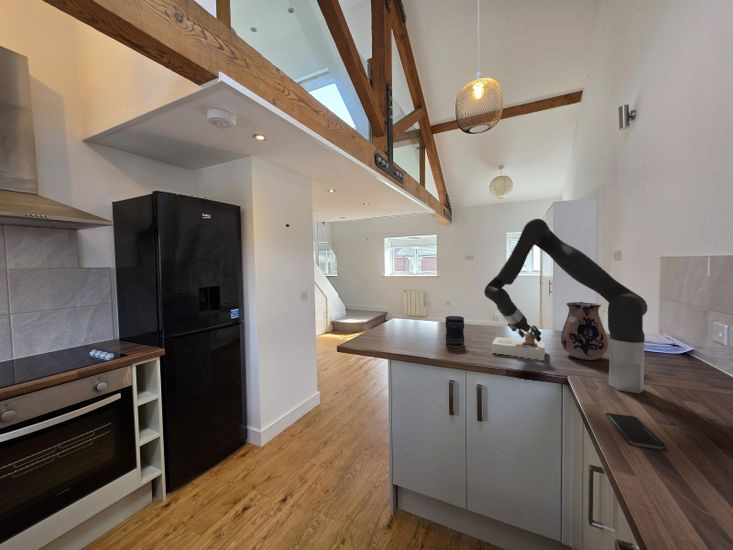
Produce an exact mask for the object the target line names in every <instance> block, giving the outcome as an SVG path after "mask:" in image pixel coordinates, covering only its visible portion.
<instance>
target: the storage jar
mask: <svg viewBox="0 0 733 550" xmlns="http://www.w3.org/2000/svg"><path fill="white" fill-rule="evenodd" d="M464 328H465V317H463V316H459V315H449V316H448V315H447V316H445V345H446V344H447V345H450V346H462V345H464V346H465V335H464ZM447 345H446V346H447ZM450 346H449V347H450Z"/></svg>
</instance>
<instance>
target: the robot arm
mask: <svg viewBox="0 0 733 550" xmlns="http://www.w3.org/2000/svg"><path fill="white" fill-rule="evenodd" d="M534 246H535V247H538V248H539V249H540V250H542V251H543V252H544V253H546V254H547V255H548V256H549V257H550V258H551V259H552V261H554V262H555V264H557V265H558V267H560V268H561V269H562V270H563V271H564V272H565V273H566V274H568V276H570V278H572V279H573V280H575V281H576V282H578V283H580V284H581V285H583V286H585V287H587V288H589V289H590V290H592V291H594V292H596V293H597V294H599V296H601V297H602V298H603V299H604V300H605V301H606V302H608V305H607V329H608V331H609V347H608V348H609V349H608V350H609V354H608V355H609V356H608V357H609V358H608V359H609V360H608V362H609V363H608V385H609V387H612V388H614V389H616V391H622V392H626V393H627V392H628V393H634V394H639V395H641V393H643V392H644V384H645V383H644V381H645V380H644V377H645V375H644V373H645V346H646V345H645V341H646V340H645V339H646V337H645V336H646V335H645V333H644V329H643V327H644V326H643V325H644V323H643V321H644V320H643V318H644V316H645V315H646V314H647V311H648V303H647V301H646V300H645V298H643V297H642V296H640V295H639V294H637V293H636V292H634V291H632V290H631V289H629V288H627V286H624V285H623V284H622V283H620V282H619V281H618V280H617V279H614V277H612V276H611V275H610V274H609V273H608V272H607V271H606V270H604V269H603V268H602V267H601V266H600V265H599V264H598V263H596V262H595V261H594V260H593V259H591V258H590V257H589V256H588V255H586V254H585V253H583V252H582V251H580V250H579V249H577V248H575V247H573V246H572V245H569V244H567V243H566V242H564V241H563V240H561V239H560V238H559V237H558V236H557V235H556V234H555V233H554V232H552V230H551V229H550V227H549V225H548V223H546V221H545V220H543V219H540V218H534V219H531V220H529V221H527V223H526V224H525V225H524V226H523V228H522V231H521V234H520V236H519V238H518V240H517V242H516V245H515V246H514V248H513V250H512V252H511V254H510V255H509V257H508V258H507V260H506V262H505V263H504V265H503V266H502V268H501V269H500V270H499V272H498V274H497V275H496V276H494V277H493V279H491V280H490V281H489V282H488V283H487V284H486V286H485V289H484V291H483V292H484V295H485V297H486V298H487V299H489V300H490V301H491V302H493V303H494V304H495V305H496V308H497V310H498V311H499V312H500V314H501V315H502V317H503V318H504V320H505V321H506V322H507V323H508V324H507V326H508V327H509V328H510V331H512V332H515V333H517V334H518V335H519V336H520V337H521V338H524V337H525V333H527V334H528V335H532V336H533V337H534V338H535V341H537V342H541V340H542V337H541V335H542V332H541V331H540V329H538V327H537V326H536V325H530V324H529V323H528V320H527V317H526V316H525V315H524V314H523V312H522V311H521V310H520V309H519V308H518V306H517V305H516V304H515V303H514V302H513V301H512V299H511V297H510V295H509V293H508V292H507V290H506V289H504V288H503V287H504V286H506V285H512V284H513V283H514V282H515V280H516V279H517V278H518V276H519V274H520V272H521V271H522V269H523V267H524V265H525V263H526V261H527V257H528V256H529V254H530V252H531V251H532V249H533V248H534ZM524 339H525V338H524Z"/></svg>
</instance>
